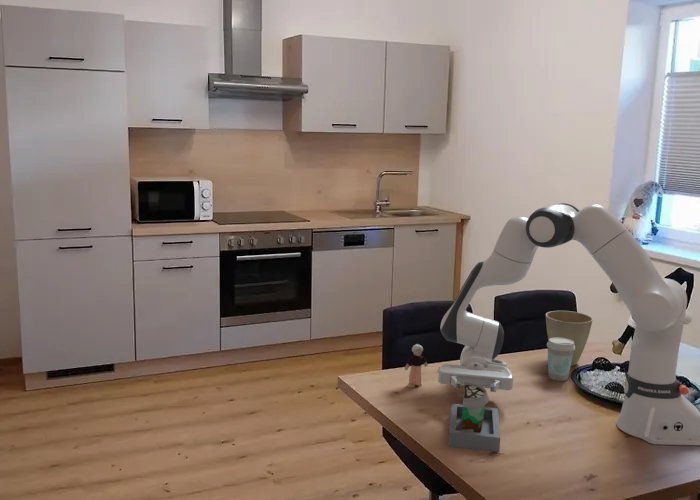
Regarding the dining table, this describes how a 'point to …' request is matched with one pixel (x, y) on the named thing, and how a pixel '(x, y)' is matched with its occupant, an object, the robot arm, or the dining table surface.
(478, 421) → the food container
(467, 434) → the tray
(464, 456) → the dining table surface
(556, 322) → the plant pot
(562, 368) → the coffee cup
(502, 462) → the dining table surface
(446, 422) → the dining table surface
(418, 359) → the grandmother figurine
